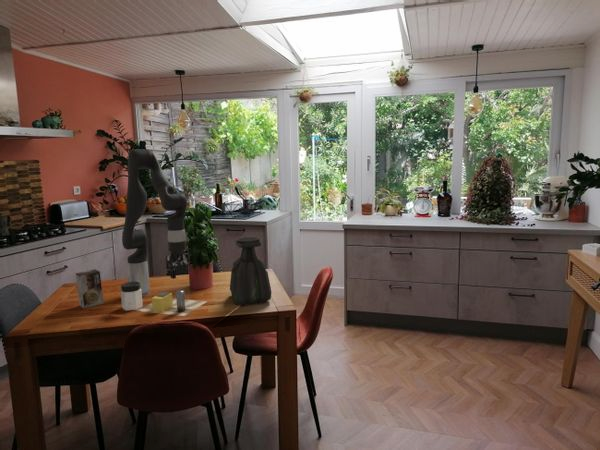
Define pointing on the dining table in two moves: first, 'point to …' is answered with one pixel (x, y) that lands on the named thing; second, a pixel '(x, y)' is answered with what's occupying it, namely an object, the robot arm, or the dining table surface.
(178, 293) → the peg
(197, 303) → the panel
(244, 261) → the dark grey vase
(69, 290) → the dining table surface
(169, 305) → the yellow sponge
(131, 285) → the jar
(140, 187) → the robot arm
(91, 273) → the coffee box
